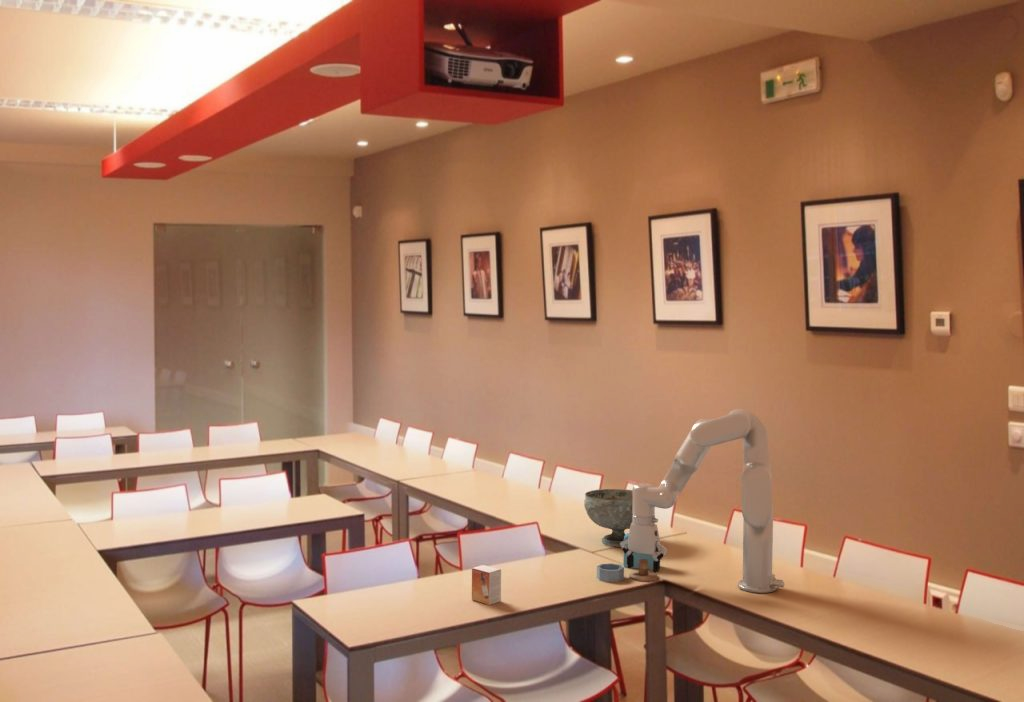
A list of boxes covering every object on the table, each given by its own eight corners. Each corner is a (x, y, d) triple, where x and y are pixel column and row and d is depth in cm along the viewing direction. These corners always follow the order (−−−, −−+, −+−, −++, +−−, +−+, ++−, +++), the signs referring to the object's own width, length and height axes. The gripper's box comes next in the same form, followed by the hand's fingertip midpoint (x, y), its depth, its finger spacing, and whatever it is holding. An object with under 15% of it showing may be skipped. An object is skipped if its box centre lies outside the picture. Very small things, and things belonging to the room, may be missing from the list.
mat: (658, 578, 337) (659, 576, 337) (648, 583, 331) (648, 582, 331) (638, 574, 342) (638, 572, 342) (627, 580, 335) (627, 578, 335)
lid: (661, 576, 338) (662, 559, 337) (649, 583, 330) (649, 565, 329) (637, 572, 343) (637, 555, 343) (624, 578, 335) (624, 561, 335)
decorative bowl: (595, 551, 370) (597, 499, 370) (574, 537, 395) (576, 487, 395) (660, 550, 377) (662, 498, 376) (636, 535, 402) (637, 487, 401)
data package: (658, 567, 351) (658, 534, 351) (657, 570, 347) (657, 537, 346) (624, 565, 354) (624, 532, 353) (623, 569, 349) (623, 535, 348)
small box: (471, 600, 314) (471, 567, 313) (483, 596, 318) (483, 564, 317) (489, 605, 308) (489, 572, 308) (501, 601, 313) (501, 568, 312)
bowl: (627, 578, 337) (627, 565, 336) (615, 585, 330) (615, 571, 329) (605, 574, 342) (605, 562, 341) (593, 580, 334) (593, 567, 334)
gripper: (671, 521, 333) (671, 571, 334) (626, 515, 343) (625, 563, 344) (661, 525, 327) (661, 576, 328) (615, 519, 337) (615, 568, 338)
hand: (643, 569), depth 336 cm, fingers open, 9 cm apart
